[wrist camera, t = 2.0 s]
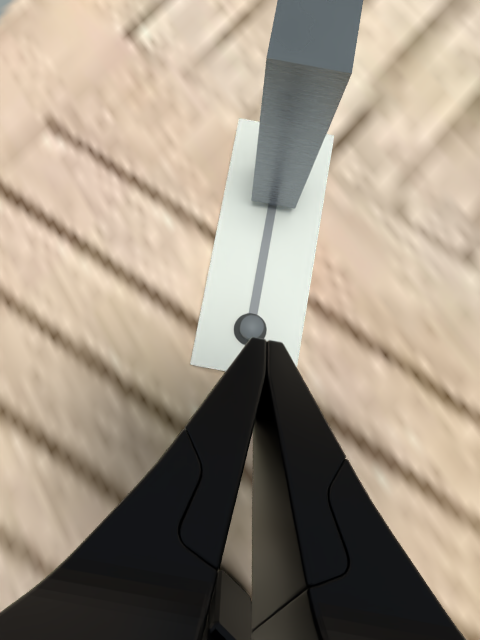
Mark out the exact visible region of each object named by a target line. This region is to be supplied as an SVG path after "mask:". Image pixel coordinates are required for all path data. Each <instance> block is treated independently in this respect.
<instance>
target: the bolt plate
mask: <svg viewBox="0 0 480 640" xmlns="http://www.w3.org/2000/svg"><path fill="white" fill-rule="evenodd" d="M259 124H260V122H257V121H252V120H246V119H241V118H239V122H238V127H237V132H236V137H235V142H234V147H233V152H232V157H231V162H230V167H229V172H228V177H227V182H226V187H225V192H224V197H223V202H222V207H221V212H220V217H219V222H218V227H217V232H216V237H215V242H214V247H213V252H212V257H211V262H210V267H209V272H208V277H207V282H206V287H205V292H204V297H203V302H202V307H201V312H200V317H199V323H198V328H197V333H196V338H195V343H194V348H193V353H192V358H191V363H190V365H195V366H201V367H206V368H211V369H217V370H222V371H226V370H227V369H228V368H229V366H230V365H231V364H232V362H233V361H234V360H235V358H236V357H237V356H238V354H239V353H240V352H241V350H242V349H243V347H244V346H245V345H246V343H247V342H248V341H249V339H250V338H251V337H257V338H262V339H265V340H266V341H268V340H273V341H278V342H282V343H283V344H284V346H285V347H286V349H287V351H288V353H289V355H290V356H291V358H292V360H293V362H294V364H295V365H296V367H297V363H298V357H299V351H300V345H301V339H302V332H303V326H304V320H305V314H306V307H307V301H308V295H309V289H310V283H311V276H312V270H313V264H314V258H315V251H316V245H317V239H318V233H319V226H320V220H321V214H322V208H323V202H324V195H325V189H326V183H327V177H328V170H329V164H330V158H331V152H332V146H333V139H334V135H329V134H326V136H325V138H324V141H323V143H322V145H321V148H320V150H319V153H318V155H317V157H316V160H315V162H314V165H313V167H312V169H311V172H310V174H309V177H308V179H307V181H306V184H305V186H304V189H303V191H302V193H301V196H300V198H299V200H298V203H297V205H296V208H295V209H294V208H288V207H283V206H277V205H272V204H266V203H261V202H255V201H251V198H252V189H253V179H254V170H255V161H256V152H257V143H258V133H259Z"/></svg>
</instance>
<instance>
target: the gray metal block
mask: <svg viewBox="0 0 480 640" xmlns="http://www.w3.org/2000/svg"><path fill="white" fill-rule="evenodd" d="M362 5H363V0H278V2H277V7H276V12H275V17H274V22H273V28H272V33H271V38H270V43H269V48H268V54H267V59H266V69H265V78H264V87H263V96H262V106H261V115H260V124H259V133H258V143H257V152H256V161H255V170H254V179H253V189H252V198H251V201H255V202H261V203H266V204H272V205H277V206H283V207H288V208H294V209H295V208H296V205H297V203H298V200H299V198H300V196H301V193H302V191H303V189H304V186H305V184H306V181H307V179H308V177H309V174H310V172H311V169H312V167H313V165H314V162H315V160H316V157H317V155H318V153H319V150H320V148H321V145H322V143H323V141H324V138H325V136H326V134H327V131H328V129H329V126H330V124H331V122H332V119H333V117H334V114H335V112H336V110H337V107H338V105H339V102H340V100H341V98H342V95H343V93H344V90H345V88H346V86H347V83H348V81H349V79H350V76H351V74H352V68H353V62H354V55H355V49H356V43H357V36H358V30H359V24H360V17H361V11H362Z"/></svg>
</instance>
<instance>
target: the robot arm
mask: <svg viewBox="0 0 480 640" xmlns="http://www.w3.org/2000/svg"><path fill="white" fill-rule="evenodd" d="M252 432H253V487H252V602H251V598H250V596H249V595H248V594H247V593H246V592H245V591H244V590H243V589H242V588H241V587H240V586H239V585H238V584H237V583H235V582H234V581H233V580H232V579H231V578H230V577H229V576H228V575H227V574H226V573H225V572H224V571H223V570H219V568H220V564H221V560H222V556H223V552H224V548H225V544H226V539H227V535H228V531H229V527H230V523H231V519H232V515H233V510H234V506H235V502H236V498H237V494H238V490H239V486H240V481H241V477H242V473H243V469H244V465H245V461H246V457H247V452H248V448H249V444H250V440H251V436H252ZM345 458H346V455H345V454H344V452H343V450H342V448H341V446H340V445H339V443H338V441H337V439H336V437H335V436H334V434H333V432H332V430H331V428H330V427H329V425H328V423H327V421H326V419H325V418H324V416H323V414H322V412H321V410H320V409H319V407H318V405H317V403H316V401H315V400H314V398H313V396H312V394H311V392H310V391H309V389H308V387H307V385H306V383H305V382H304V380H303V378H302V376H301V374H300V373H299V371H298V369H297V367H296V365H295V364H294V362H293V360H292V358H291V356H290V355H289V353H288V351H287V349H286V347H285V346H284V344H283V343H282V342H278V341H273V340H268V341H266V340H265V339H262V338H257V337H251V338H250V339H249V341H248V342H247V343H246V345H245V346H244V347H243V349H242V350H241V352H240V353H239V354H238V356H237V357H236V358H235V360H234V361H233V362H232V364H231V365H230V366H229V368H228V369H227V370H226V372H225V373H224V374H223V376H222V377H221V379H220V380H219V381H218V383H217V384H216V385H215V387H214V388H213V389H212V391H211V392H210V393H209V395H208V396H207V397H206V399H205V400H204V401H203V403H202V404H201V405H200V407H199V408H198V410H197V411H196V412H195V414H194V415H193V416H192V418H191V419H190V420H189V422H188V423H187V424H186V426H185V429H183V430H182V431H181V432H180V434H179V435H178V436H177V438H176V439H175V440H174V442H173V443H172V444H171V445H170V447H169V448H168V449H167V450H166V452H165V453H164V454H163V456H162V457H161V458H160V459H159V461H158V462H157V463H156V464H155V465H154V466H153V468H152V469H151V470H150V471H149V472H148V473H147V474H146V475H145V477H144V478H143V479H142V480H141V481H140V482H139V483H138V484H137V485H136V487H135V488H134V489H133V490H132V491H131V492H130V493H129V494H128V495H127V496H126V497H125V498H124V499H123V500H122V501H121V502H120V503H119V504H118V506H117V507H116V508H115V509H114V510H113V511H112V512H111V513H110V514H109V515H108V516H107V517H106V518H105V519H104V520H103V521H102V522H101V523H100V525H99V526H98V527H97V528H96V529H95V530H94V531H93V532H92V533H91V534H90V535H89V536H88V537H87V538H86V539H85V540H84V541H83V542H82V544H81V545H80V546H79V547H78V548H77V549H76V550H75V551H74V552H73V553H72V554H71V555H70V556H69V557H68V558H67V559H66V560H65V561H63V562H62V563H61V564H60V565H59V566H58V567H57V568H56V569H55V570H54V571H53V572H52V573H50V574H49V575H48V576H47V577H46V578H45V579H44V580H42V581H41V582H40V583H39V584H38V585H36V586H35V587H34V588H33V589H31V590H30V591H29V592H27V593H26V594H25V595H23V596H22V597H21V598H19V599H18V600H17V601H15V602H14V603H12V604H11V605H10V606H8V607H7V608H6V609H4V610H3V611H2V612H0V640H466V639H465V638H464V636H463V635H462V634H461V632H460V631H459V630H458V629H457V627H456V626H455V624H454V623H453V622H452V620H451V619H450V617H449V616H448V615H447V613H446V612H445V610H444V609H443V607H442V606H441V604H440V603H439V601H438V600H437V598H436V597H435V595H434V594H433V592H432V591H431V589H430V588H429V587H428V585H427V584H426V582H425V581H424V579H423V578H422V576H421V575H420V573H419V572H418V570H417V569H416V567H415V566H414V564H413V563H412V561H411V560H410V558H409V557H408V555H407V554H406V552H405V551H404V550H403V548H402V547H401V545H400V544H399V542H398V541H397V539H396V538H395V536H394V535H393V533H392V532H391V530H390V529H389V527H388V526H387V524H386V523H385V521H384V519H383V518H382V516H381V515H380V513H379V512H378V510H377V509H376V507H375V506H374V504H373V502H372V501H371V499H370V497H369V496H368V494H367V492H366V490H365V489H364V487H363V485H362V484H361V482H360V480H359V479H358V477H357V475H356V473H355V471H354V470H353V468H352V466H351V464H350V462H349V461H348V460H347V459H345Z"/></svg>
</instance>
